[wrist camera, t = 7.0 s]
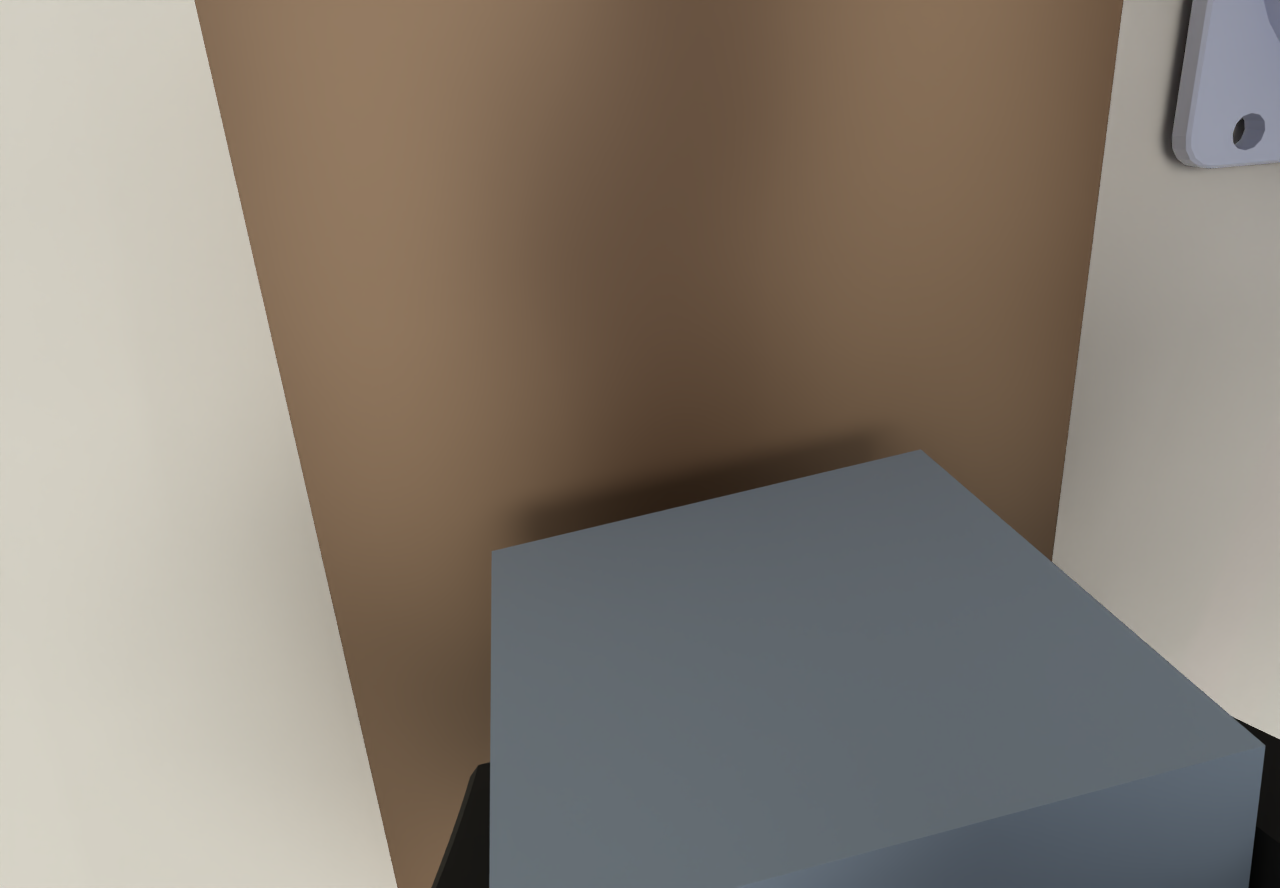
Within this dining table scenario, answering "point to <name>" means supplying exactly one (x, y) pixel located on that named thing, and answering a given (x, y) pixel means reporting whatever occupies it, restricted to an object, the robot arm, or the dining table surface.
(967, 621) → the block
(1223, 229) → the dining table surface
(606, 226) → the plinth
